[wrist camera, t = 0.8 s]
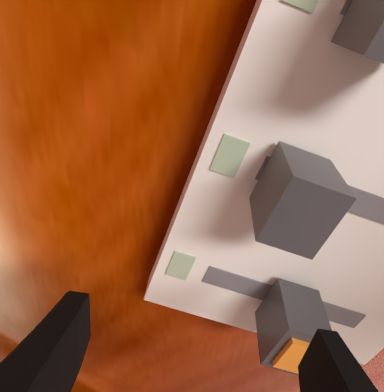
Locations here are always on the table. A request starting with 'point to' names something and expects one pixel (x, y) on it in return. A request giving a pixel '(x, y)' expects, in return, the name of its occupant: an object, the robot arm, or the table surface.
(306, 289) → the block
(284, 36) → the breaker panel
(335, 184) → the middle breaker
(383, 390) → the table surface
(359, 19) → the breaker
